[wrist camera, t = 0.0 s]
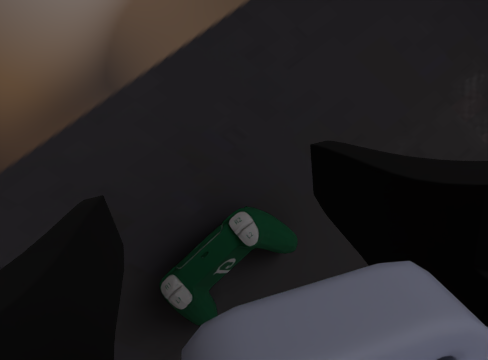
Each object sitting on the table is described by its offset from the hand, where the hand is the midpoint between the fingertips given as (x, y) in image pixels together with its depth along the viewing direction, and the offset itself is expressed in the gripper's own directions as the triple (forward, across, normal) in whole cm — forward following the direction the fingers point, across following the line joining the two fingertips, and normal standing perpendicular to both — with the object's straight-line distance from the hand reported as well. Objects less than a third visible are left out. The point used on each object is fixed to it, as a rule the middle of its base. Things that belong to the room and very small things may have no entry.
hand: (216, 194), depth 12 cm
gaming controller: (+9, 0, +10) cm, 14 cm away
